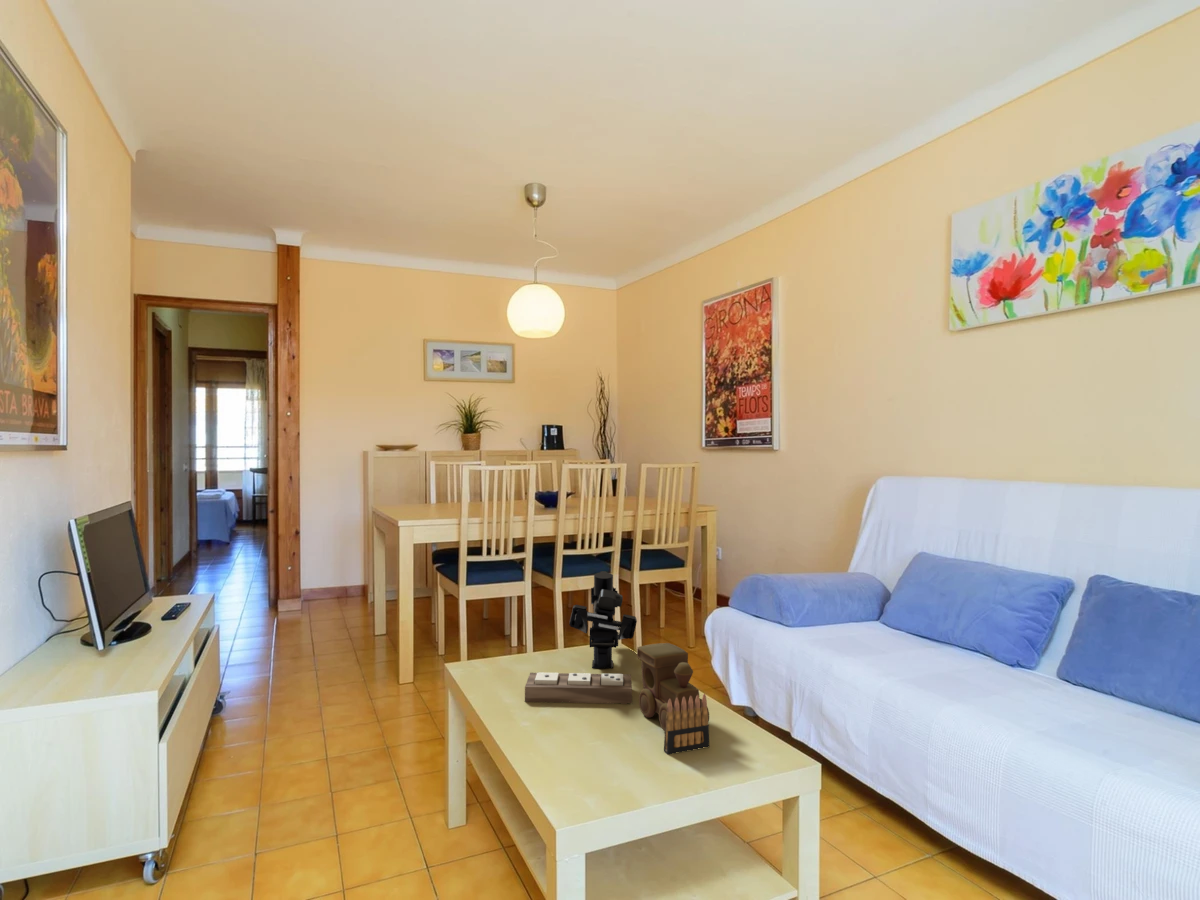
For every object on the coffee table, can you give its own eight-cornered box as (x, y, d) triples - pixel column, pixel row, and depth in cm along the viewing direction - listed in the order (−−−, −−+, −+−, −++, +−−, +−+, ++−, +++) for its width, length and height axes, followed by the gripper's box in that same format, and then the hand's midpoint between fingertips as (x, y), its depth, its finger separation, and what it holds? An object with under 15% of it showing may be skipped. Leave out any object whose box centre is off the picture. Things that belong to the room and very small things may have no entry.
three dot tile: (601, 682, 180) (601, 672, 180) (622, 683, 180) (622, 673, 180) (600, 690, 174) (601, 680, 174) (623, 691, 174) (623, 680, 174)
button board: (530, 686, 183) (530, 672, 183) (630, 688, 182) (630, 674, 182) (524, 701, 172) (524, 686, 172) (631, 703, 171) (632, 688, 171)
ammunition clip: (705, 743, 148) (706, 691, 148) (709, 747, 147) (710, 694, 147) (663, 750, 145) (664, 697, 145) (667, 754, 143) (667, 700, 143)
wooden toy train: (633, 710, 167) (633, 646, 168) (671, 703, 172) (671, 641, 172) (672, 741, 149) (673, 670, 149) (713, 733, 154) (714, 664, 154)
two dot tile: (569, 682, 180) (569, 672, 180) (590, 682, 180) (590, 672, 180) (567, 690, 174) (567, 679, 174) (589, 690, 174) (590, 680, 174)
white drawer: (537, 681, 180) (537, 671, 180) (558, 682, 180) (558, 672, 180) (534, 689, 174) (534, 679, 174) (556, 689, 174) (556, 679, 174)
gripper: (577, 579, 190) (575, 601, 175) (639, 592, 191) (642, 614, 176) (570, 614, 192) (567, 638, 177) (631, 626, 193) (633, 651, 178)
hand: (602, 634), depth 177 cm, fingers open, 9 cm apart
